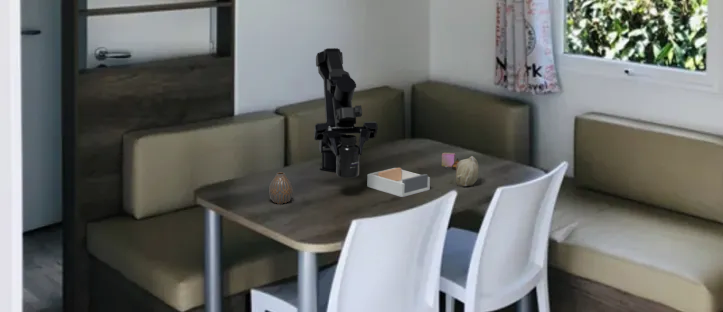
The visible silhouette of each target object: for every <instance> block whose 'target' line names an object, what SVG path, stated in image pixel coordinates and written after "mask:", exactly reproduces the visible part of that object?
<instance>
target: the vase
mask: <svg viewBox="0 0 723 312" xmlns="http://www.w3.org/2000/svg"><path fill="white" fill-rule="evenodd" d="M293 191H294V190H293V184H292V182H291V181H290V180H289V179H288V177H287V175H286V173H285V172H276V174H275V176H274V178H273V179H272V180H271V181H270V183H269V187H268V194H269V198H270V200H271V201H272V202H273V204H276V203H277V204H276V205H284V204H283V203H285V204H288V203H287V202H290V201H291V199H292V196H293Z"/></svg>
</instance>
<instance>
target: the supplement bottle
mask: <svg viewBox="0 0 723 312" xmlns="http://www.w3.org/2000/svg"><path fill="white" fill-rule="evenodd" d="M340 143H341V144H340V145H338V146H337V153H338V155H337V157H336V172H335V173H336V176H337V177H339V178H343V179H345V178H346V179H353V178H357V177H358V176H360V154H359V151H360V150H359V144H356V143H357V136H356V135H353V134H346V135H341V136H340Z"/></svg>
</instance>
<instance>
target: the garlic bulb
mask: <svg viewBox="0 0 723 312" xmlns="http://www.w3.org/2000/svg"><path fill="white" fill-rule="evenodd" d="M479 174H480V166H479V163H478V160H477V159H476V158H475V157H474V156H473V155H471V156H469V158H465V159H461V160H459V162H458V163H457V167H456V170H455V183H456V185H457V186H459V187H471V186H474V184H475V183H476V182H477V180H478V179H479V178H478V177H479Z"/></svg>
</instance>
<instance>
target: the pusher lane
mask: <svg viewBox="0 0 723 312" xmlns="http://www.w3.org/2000/svg"><path fill="white" fill-rule="evenodd" d="M395 168H396V167H393V168H388V169H384V170H379V171H375V172H370V173H368V174H367V175H366V176H367V177H366V178H367V180H366V181H367V182H366V183H367V184H366V185H367V186H366V187H367V188H371V189H374V190H377V191H380V192H384V193H386V194H390V195H394V196H397V197H401V198H404V197H407V196H411V195H414V194H418V193H422V192H427V191H429V190H431V189H430V186H431V177H430V176H429V175H428V174H427V173H423V174H419V173H415V172H411V171H408V170H405V169H401V180H398V181H394V180H390V179H387V178H383V177H380V176H378V172H382V171H386V170H390V169H395Z"/></svg>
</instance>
